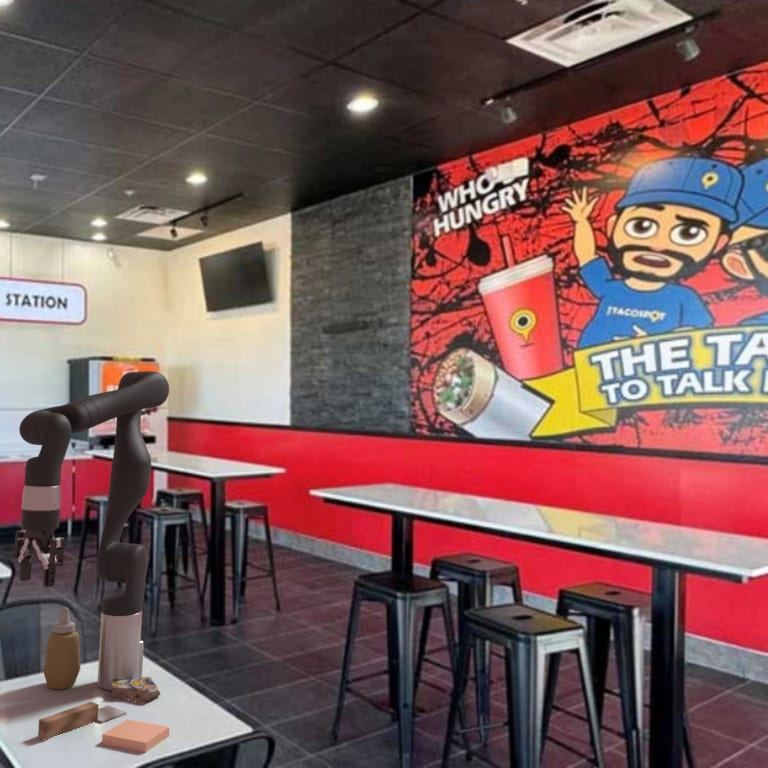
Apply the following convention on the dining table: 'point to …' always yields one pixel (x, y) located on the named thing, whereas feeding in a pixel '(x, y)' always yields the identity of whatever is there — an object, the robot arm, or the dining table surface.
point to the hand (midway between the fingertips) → (36, 583)
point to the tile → (135, 735)
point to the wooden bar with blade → (76, 719)
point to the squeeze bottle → (62, 654)
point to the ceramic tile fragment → (135, 689)
